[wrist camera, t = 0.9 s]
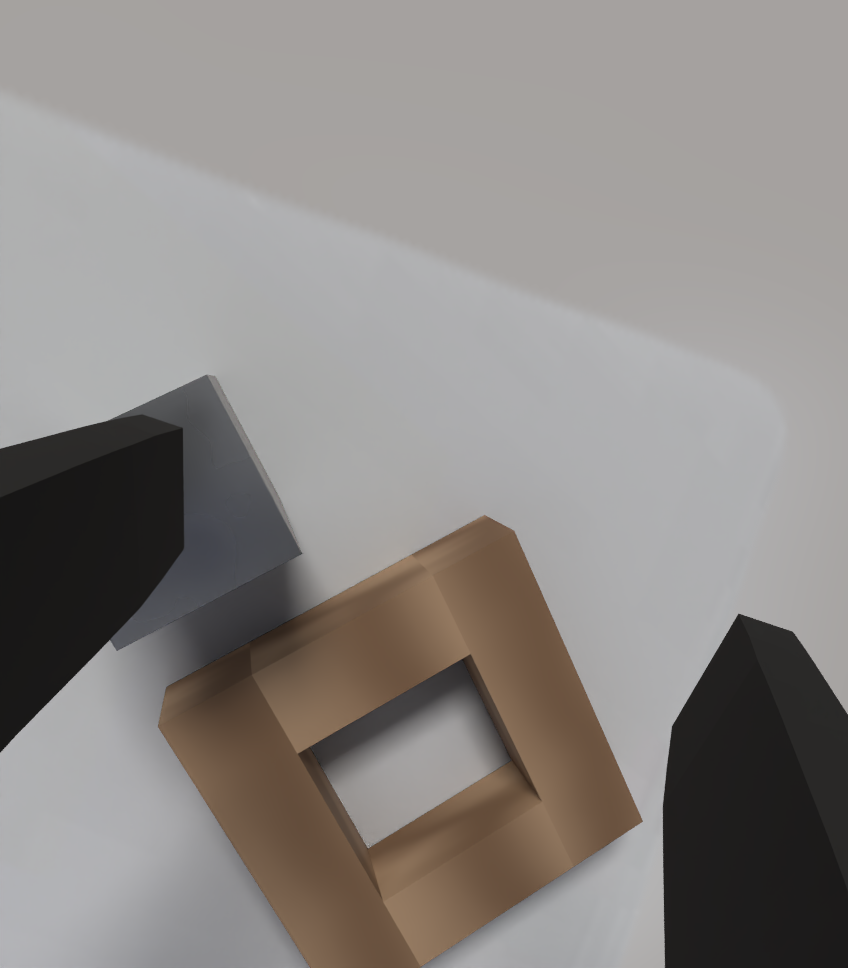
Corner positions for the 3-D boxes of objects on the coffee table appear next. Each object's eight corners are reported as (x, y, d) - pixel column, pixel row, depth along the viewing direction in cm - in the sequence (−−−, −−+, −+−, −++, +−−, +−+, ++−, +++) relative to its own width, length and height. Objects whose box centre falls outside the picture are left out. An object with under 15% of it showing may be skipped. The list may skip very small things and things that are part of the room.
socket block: (330, 953, 24) (342, 1018, 21) (166, 687, 21) (158, 726, 19) (604, 780, 26) (642, 821, 23) (484, 515, 23) (514, 530, 21)
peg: (154, 562, 21) (117, 650, 14) (81, 438, 20) (3, 469, 13) (280, 498, 21) (302, 553, 14) (215, 375, 20) (207, 375, 14)
